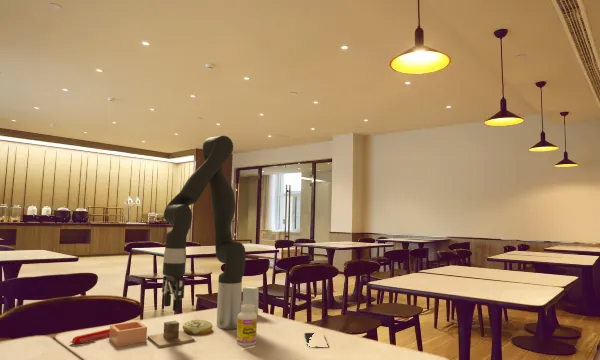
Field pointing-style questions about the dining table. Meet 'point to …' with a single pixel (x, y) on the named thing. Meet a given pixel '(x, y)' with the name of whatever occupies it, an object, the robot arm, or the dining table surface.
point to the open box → (128, 333)
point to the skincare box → (251, 297)
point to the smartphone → (307, 336)
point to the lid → (170, 336)
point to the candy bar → (91, 336)
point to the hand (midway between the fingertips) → (171, 308)
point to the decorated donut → (197, 327)
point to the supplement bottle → (247, 325)
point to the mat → (167, 346)
